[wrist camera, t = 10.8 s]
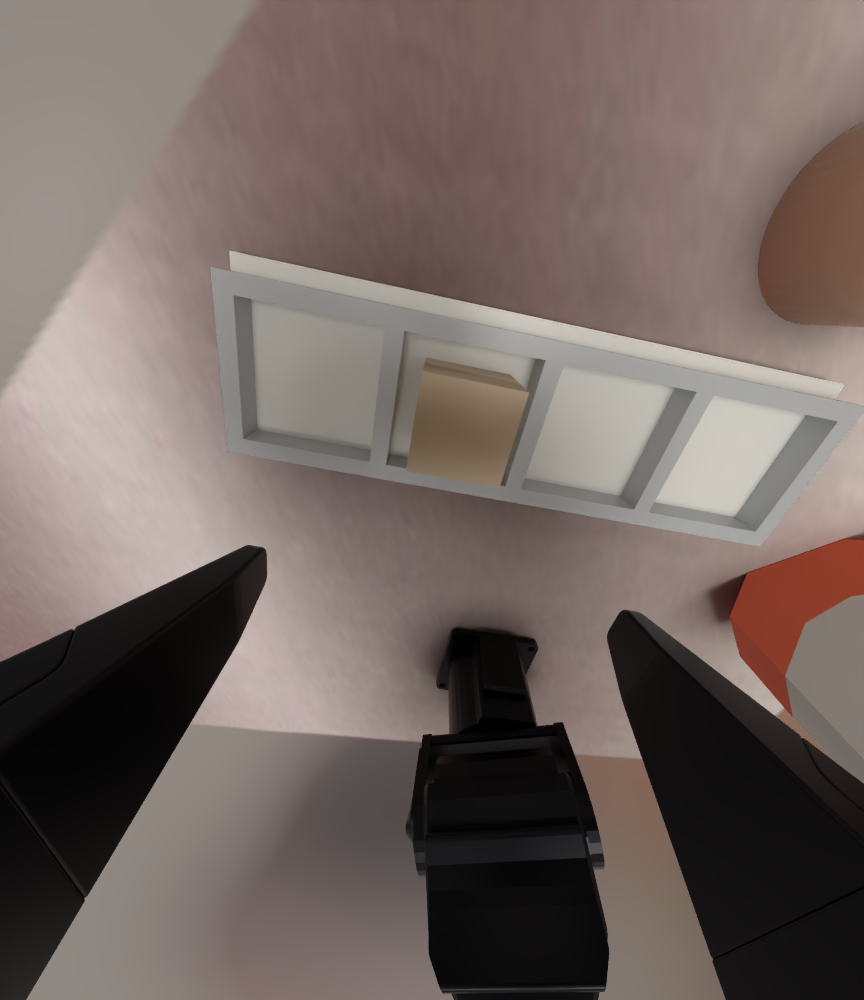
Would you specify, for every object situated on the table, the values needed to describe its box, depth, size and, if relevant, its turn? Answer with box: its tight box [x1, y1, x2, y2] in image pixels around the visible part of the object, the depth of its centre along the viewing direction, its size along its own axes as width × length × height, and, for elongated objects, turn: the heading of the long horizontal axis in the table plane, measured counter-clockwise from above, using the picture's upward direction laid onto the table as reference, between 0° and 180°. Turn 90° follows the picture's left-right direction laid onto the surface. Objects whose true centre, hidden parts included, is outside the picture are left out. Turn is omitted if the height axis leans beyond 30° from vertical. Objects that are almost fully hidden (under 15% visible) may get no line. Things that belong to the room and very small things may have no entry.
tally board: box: [210, 251, 864, 546], centre depth 17 cm, size 9×28×2 cm, turn 79°
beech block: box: [406, 358, 529, 488], centre depth 16 cm, size 4×4×4 cm
